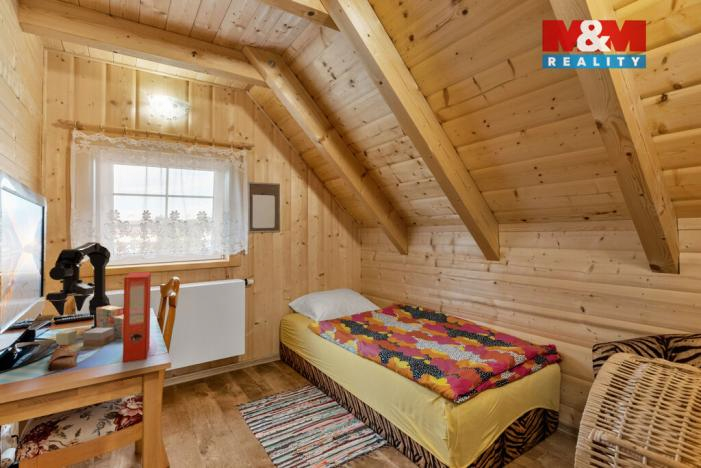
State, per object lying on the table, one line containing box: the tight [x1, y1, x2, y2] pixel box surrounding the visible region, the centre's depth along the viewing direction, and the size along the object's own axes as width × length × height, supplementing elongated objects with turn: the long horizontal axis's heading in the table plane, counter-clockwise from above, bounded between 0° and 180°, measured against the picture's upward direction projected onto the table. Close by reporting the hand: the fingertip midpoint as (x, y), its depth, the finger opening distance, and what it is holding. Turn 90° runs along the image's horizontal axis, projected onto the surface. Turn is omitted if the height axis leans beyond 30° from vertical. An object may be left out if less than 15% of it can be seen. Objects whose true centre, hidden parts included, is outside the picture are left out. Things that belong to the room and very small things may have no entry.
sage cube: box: [55, 329, 78, 346], centre depth 153 cm, size 5×5×5 cm
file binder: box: [122, 271, 152, 363], centre depth 140 cm, size 8×17×32 cm, turn 27°
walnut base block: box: [82, 334, 115, 347], centre depth 154 cm, size 8×8×3 cm
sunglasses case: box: [47, 348, 80, 373], centre depth 131 cm, size 18×7×7 cm
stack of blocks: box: [96, 305, 124, 339], centre depth 168 cm, size 21×6×12 cm, turn 62°
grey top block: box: [82, 328, 114, 340], centre depth 154 cm, size 8×8×3 cm
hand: (70, 313), depth 153 cm, fingers open, 9 cm apart
